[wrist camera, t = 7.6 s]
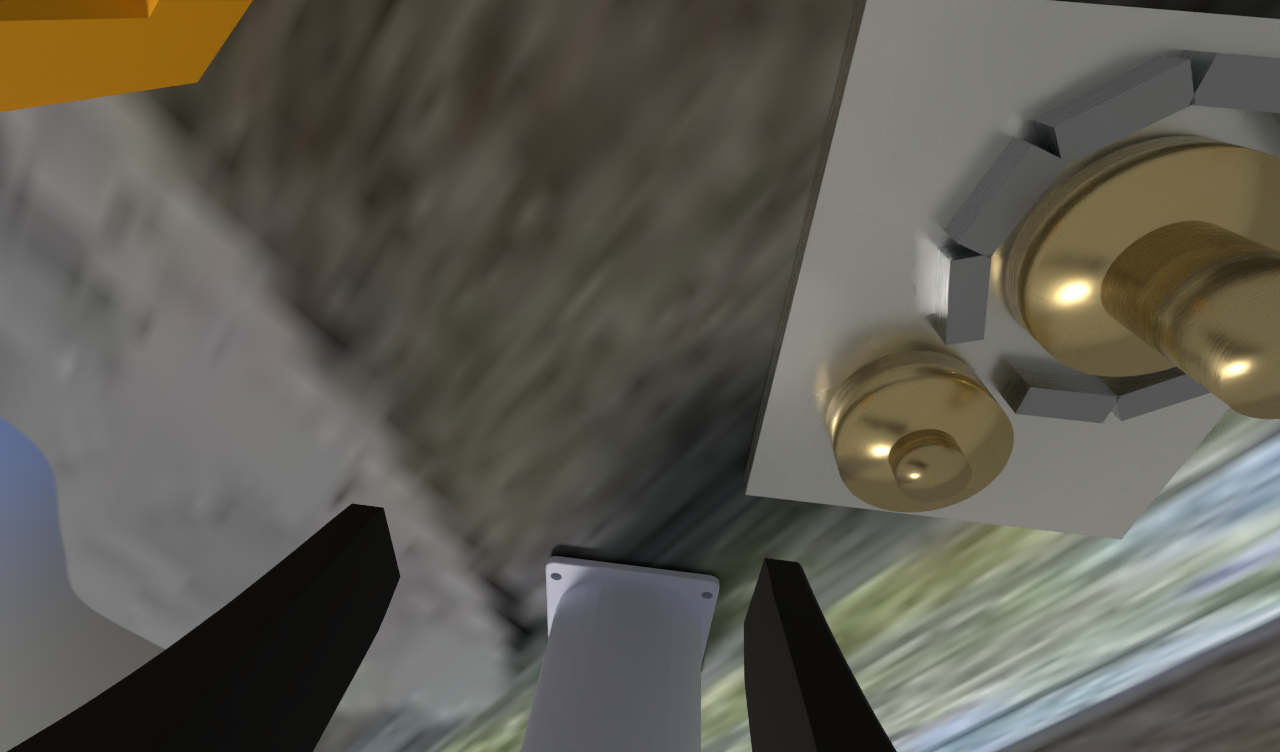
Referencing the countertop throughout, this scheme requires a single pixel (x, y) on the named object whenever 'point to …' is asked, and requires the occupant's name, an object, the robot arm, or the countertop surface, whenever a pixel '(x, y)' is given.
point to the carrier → (986, 261)
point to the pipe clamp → (106, 46)
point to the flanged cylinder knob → (1160, 268)
